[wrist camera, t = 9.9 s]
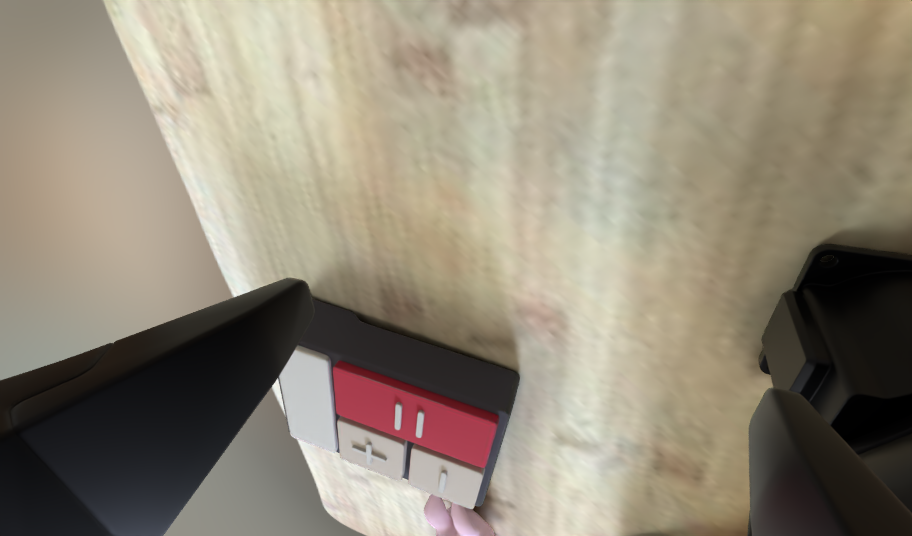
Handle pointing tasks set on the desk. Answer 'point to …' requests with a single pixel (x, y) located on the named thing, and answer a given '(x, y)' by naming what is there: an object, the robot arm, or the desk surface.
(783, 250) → the desk surface
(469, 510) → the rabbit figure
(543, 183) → the desk surface
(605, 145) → the desk surface
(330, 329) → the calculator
